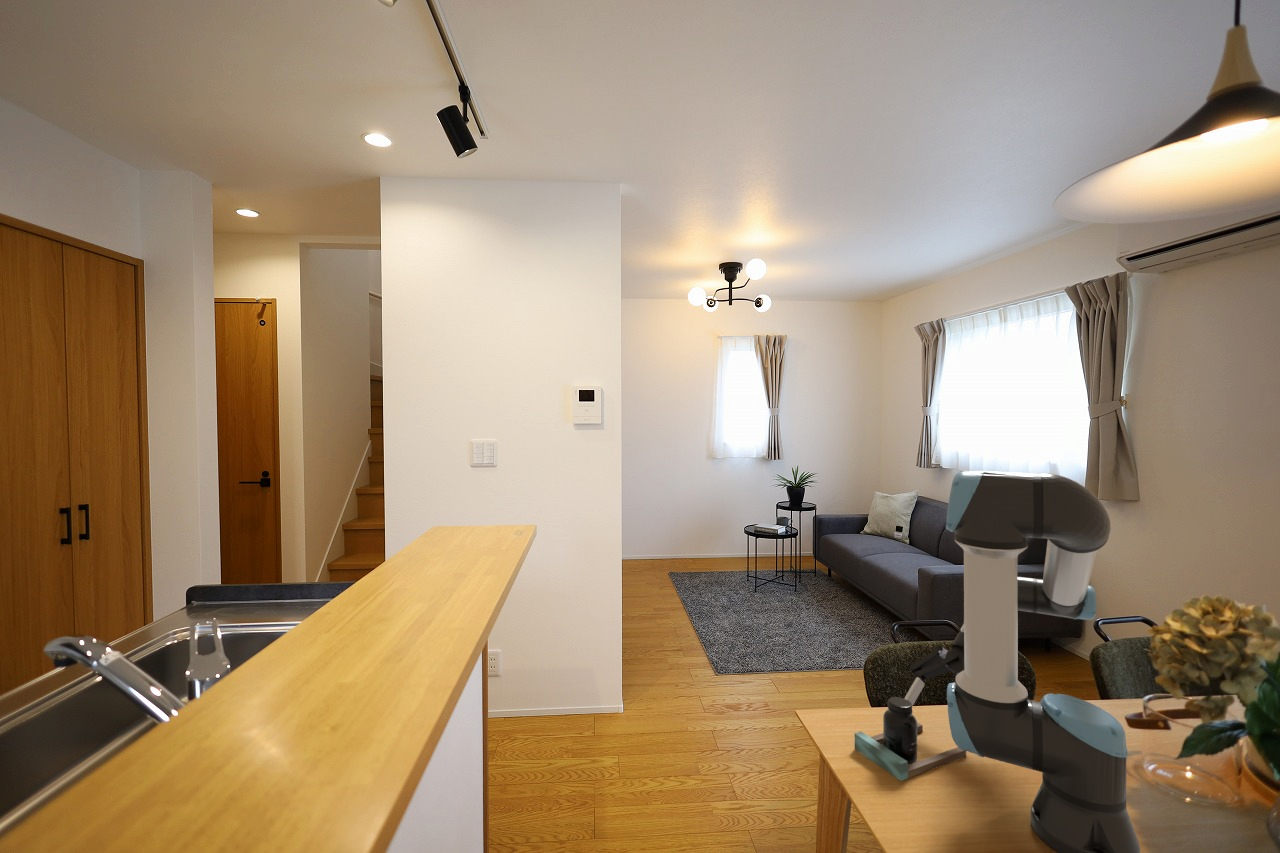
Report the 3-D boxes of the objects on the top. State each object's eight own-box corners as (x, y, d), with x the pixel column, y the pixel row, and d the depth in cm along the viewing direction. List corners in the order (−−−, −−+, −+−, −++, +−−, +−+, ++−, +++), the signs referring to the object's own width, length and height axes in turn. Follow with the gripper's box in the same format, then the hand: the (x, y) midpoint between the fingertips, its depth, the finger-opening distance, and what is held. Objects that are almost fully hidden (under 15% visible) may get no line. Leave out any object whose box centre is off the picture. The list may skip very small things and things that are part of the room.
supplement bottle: (921, 767, 119) (921, 711, 119) (887, 763, 120) (887, 708, 120) (912, 748, 125) (912, 696, 125) (880, 745, 127) (880, 693, 127)
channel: (966, 756, 122) (966, 740, 122) (900, 781, 114) (900, 764, 114) (917, 728, 134) (917, 713, 134) (854, 748, 126) (854, 733, 126)
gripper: (1038, 670, 123) (994, 755, 117) (936, 632, 146) (895, 701, 139) (1023, 651, 121) (978, 736, 115) (922, 615, 143) (880, 684, 137)
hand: (932, 717), depth 127 cm, fingers open, 13 cm apart
